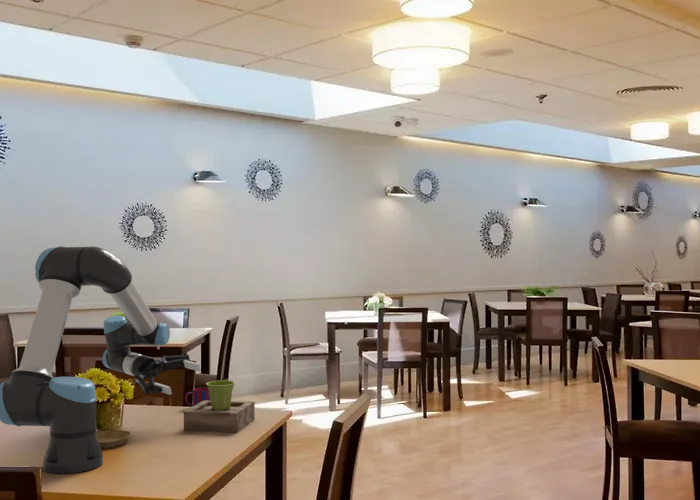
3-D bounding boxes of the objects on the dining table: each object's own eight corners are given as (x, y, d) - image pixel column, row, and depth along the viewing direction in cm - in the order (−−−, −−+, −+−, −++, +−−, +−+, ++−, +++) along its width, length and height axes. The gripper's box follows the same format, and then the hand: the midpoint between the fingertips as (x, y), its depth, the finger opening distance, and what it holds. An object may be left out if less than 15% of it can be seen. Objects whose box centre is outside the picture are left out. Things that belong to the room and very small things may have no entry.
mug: (214, 408, 272) (214, 389, 272) (188, 411, 267) (188, 392, 267) (207, 404, 278) (207, 386, 278) (181, 408, 272) (181, 389, 272)
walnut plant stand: (237, 432, 234) (237, 412, 234) (183, 430, 237) (183, 411, 238) (254, 419, 252) (254, 401, 252) (204, 418, 255) (204, 400, 255)
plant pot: (232, 411, 242) (232, 385, 242) (204, 412, 242) (203, 385, 242) (237, 405, 251) (237, 380, 251) (209, 406, 251) (209, 380, 251)
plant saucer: (115, 451, 214) (115, 442, 214) (69, 449, 216) (69, 440, 216) (139, 439, 228) (139, 430, 228) (95, 437, 231) (95, 428, 231)
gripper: (168, 355, 261) (212, 367, 250) (114, 396, 243) (160, 410, 231) (163, 337, 258) (208, 348, 247) (108, 377, 240) (154, 391, 228)
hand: (185, 378), depth 239 cm, fingers open, 13 cm apart
